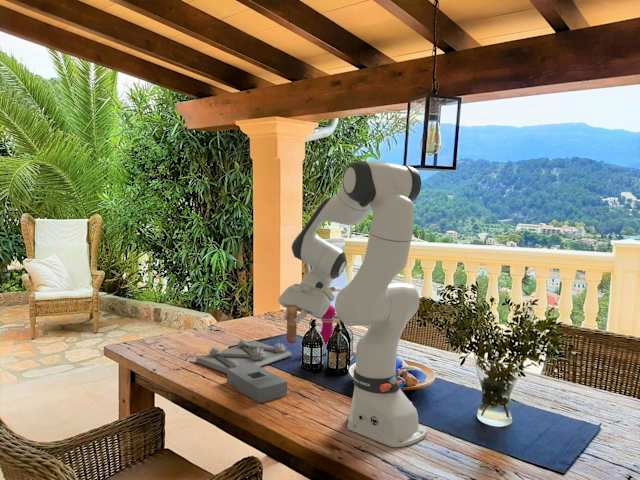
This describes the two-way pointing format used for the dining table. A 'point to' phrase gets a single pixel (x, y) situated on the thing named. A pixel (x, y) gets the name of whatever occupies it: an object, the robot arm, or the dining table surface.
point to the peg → (291, 323)
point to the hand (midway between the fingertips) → (290, 320)
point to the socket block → (257, 382)
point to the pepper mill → (327, 323)
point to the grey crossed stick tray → (243, 355)
